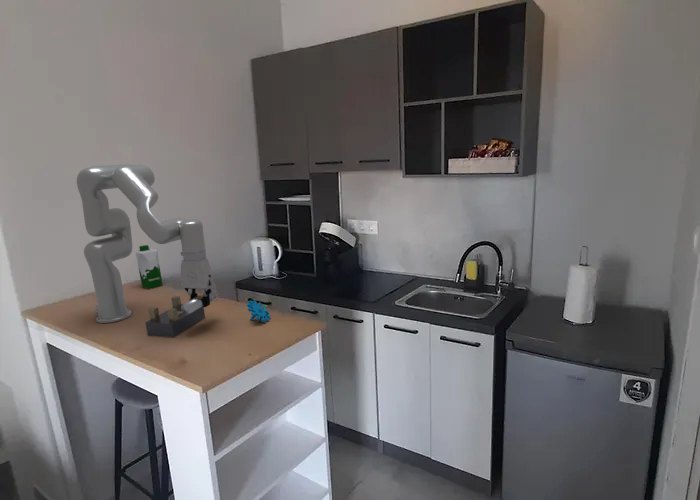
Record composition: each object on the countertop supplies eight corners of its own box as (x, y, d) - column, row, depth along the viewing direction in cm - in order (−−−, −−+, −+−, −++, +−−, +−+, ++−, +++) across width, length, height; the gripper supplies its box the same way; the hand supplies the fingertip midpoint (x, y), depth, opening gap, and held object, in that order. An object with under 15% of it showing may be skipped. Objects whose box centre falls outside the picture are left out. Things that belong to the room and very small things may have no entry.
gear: (263, 322, 154) (244, 302, 155) (253, 333, 156) (234, 313, 157) (276, 315, 165) (259, 296, 166) (267, 325, 166) (249, 306, 168)
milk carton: (157, 282, 219) (150, 243, 215) (165, 285, 213) (158, 245, 208) (139, 287, 213) (132, 247, 208) (147, 290, 207) (140, 249, 202)
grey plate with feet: (147, 335, 153) (143, 311, 151) (180, 316, 170) (177, 294, 168) (174, 337, 150) (169, 312, 148) (205, 317, 167) (201, 295, 165)
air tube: (192, 315, 147) (190, 303, 146) (181, 314, 148) (180, 303, 147) (219, 299, 162) (217, 288, 161) (209, 298, 163) (207, 288, 162)
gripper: (167, 257, 150) (174, 307, 154) (209, 259, 145) (215, 311, 149) (181, 252, 157) (187, 300, 161) (221, 253, 152) (227, 303, 156)
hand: (200, 305), depth 155 cm, fingers closed on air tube, 4 cm apart
